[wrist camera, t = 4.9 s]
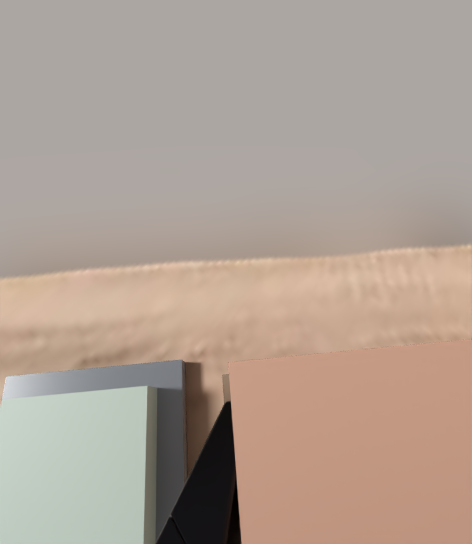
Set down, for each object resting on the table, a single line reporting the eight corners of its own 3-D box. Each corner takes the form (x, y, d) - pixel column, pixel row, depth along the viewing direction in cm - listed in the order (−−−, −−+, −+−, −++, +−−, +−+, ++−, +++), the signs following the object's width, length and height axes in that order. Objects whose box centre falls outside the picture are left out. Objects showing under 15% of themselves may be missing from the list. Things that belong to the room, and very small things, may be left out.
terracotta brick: (379, 510, 11) (656, 735, 3) (253, 522, 11) (258, 771, 3) (350, 377, 13) (492, 336, 5) (241, 387, 13) (228, 362, 5)
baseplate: (189, 582, 16) (185, 593, 15) (-24, 602, 16) (-41, 614, 15) (184, 361, 20) (181, 359, 19) (17, 377, 20) (6, 376, 19)
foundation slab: (155, 556, 16) (142, 577, 14) (-3, 571, 16) (-37, 593, 14) (157, 387, 19) (147, 385, 17) (25, 400, 19) (1, 399, 17)
